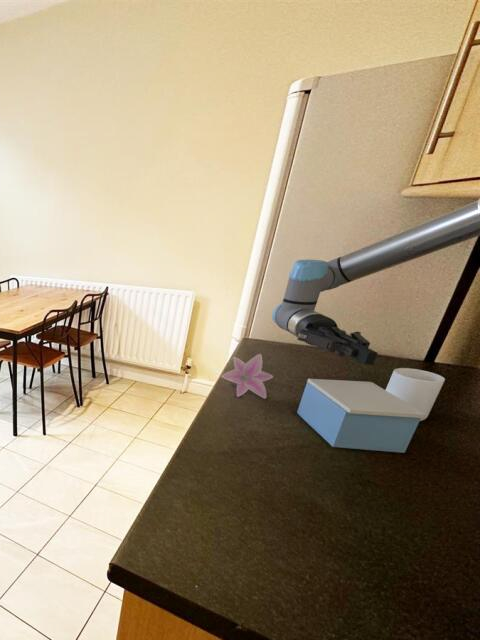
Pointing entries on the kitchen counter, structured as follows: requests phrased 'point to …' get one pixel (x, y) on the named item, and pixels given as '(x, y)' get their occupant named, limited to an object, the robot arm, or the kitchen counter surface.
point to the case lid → (365, 398)
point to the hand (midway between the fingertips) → (370, 358)
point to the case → (355, 425)
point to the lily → (248, 376)
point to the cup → (416, 387)
